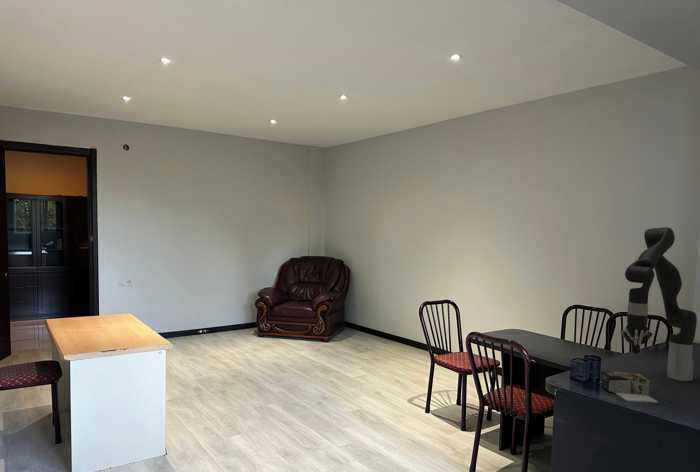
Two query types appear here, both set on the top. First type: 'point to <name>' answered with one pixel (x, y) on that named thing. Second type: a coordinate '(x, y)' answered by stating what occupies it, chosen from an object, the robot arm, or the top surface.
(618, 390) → the coffee box
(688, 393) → the top surface
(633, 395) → the mat
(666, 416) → the top surface
